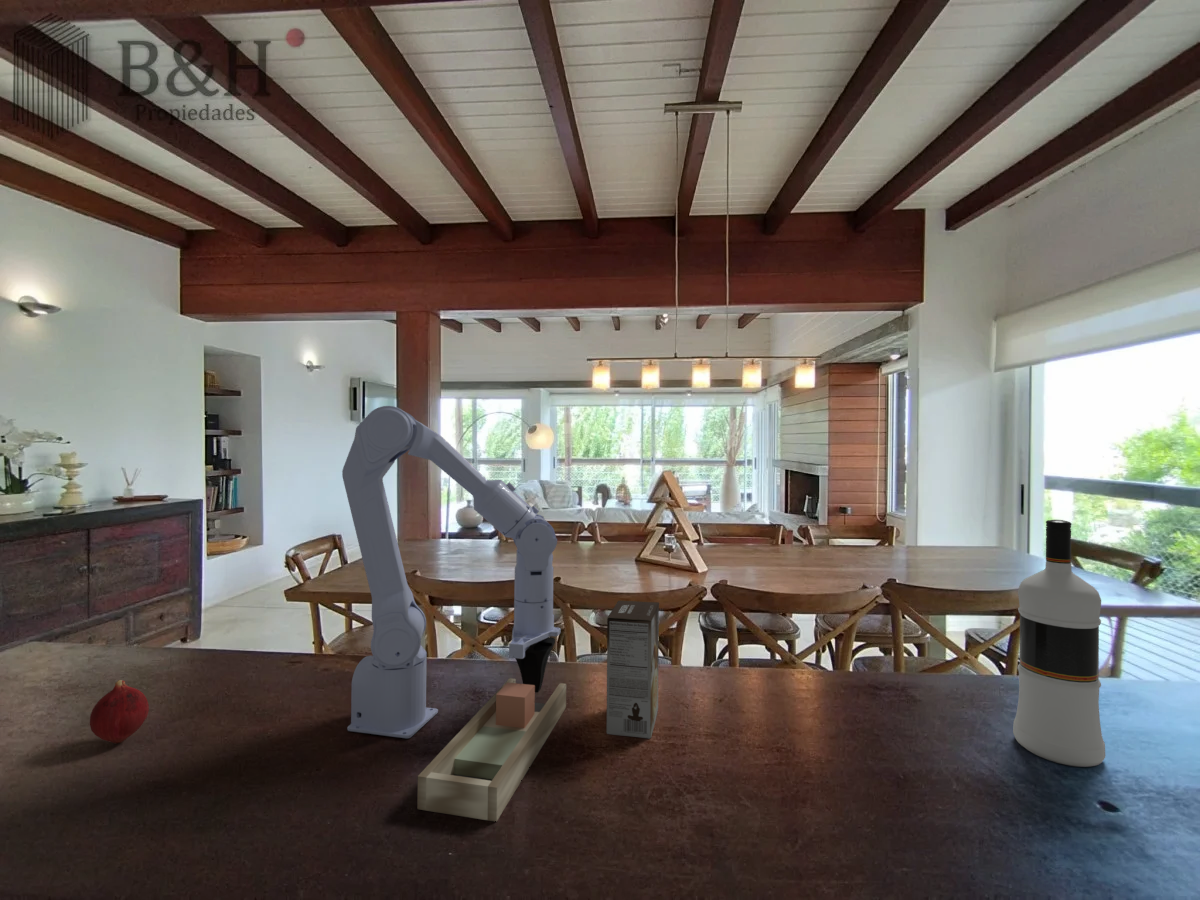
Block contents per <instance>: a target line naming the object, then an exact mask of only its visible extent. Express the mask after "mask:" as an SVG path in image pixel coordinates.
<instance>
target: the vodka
mask: <svg viewBox="0 0 1200 900" xmlns="http://www.w3.org/2000/svg"><path fill="white" fill-rule="evenodd" d="M1017 596H1018V605H1019V607H1018V608H1017V610H1018V613H1019V664H1018V665H1017V671H1018V680H1019V682H1018V685H1019V686H1018V702H1017V708H1016V714H1015V718H1014V719H1013V722H1012V723H1013V725H1012V726H1013V727H1012V733H1013V735H1014V738H1015V740H1016V742H1017V743H1018V744H1020V745H1021V747H1022V748H1024V749H1026V750H1027V751H1029V752H1030V753H1031V754H1033V755H1035V756H1037V757H1039V758H1042V759H1043V760H1044V759H1045V760H1047V761H1050V762H1053V763H1057V764H1059V765H1064V766H1068V767H1077V768H1090V767H1096V766H1099V765H1101V764H1102V763H1103V761H1104V760H1105V759H1106V743H1105V741H1104V738H1103V735H1102V734H1103V733H1102V727H1101V726H1102V725H1101V719H1100V718H1101V717H1100V706H1099V705H1100V702H1099V701H1100V688H1101V687H1102V682H1101V680H1100V679H1099V678H1100V677H1099V672H1100V671H1099V669H1100V668H1099V666H1100V665H1099V663H1100V661H1099V657H1100V656H1099V655H1100V654H1099V653H1100V651H1099V649H1100V647H1099V646H1100V644H1099V643H1100V642H1099V641H1100V640H1099V639H1100V627H1099V626H1100V625H1101V623H1102V619H1101V618H1100V617H1101V609H1102V598H1101V596H1100V593H1099V591H1098V590H1097V588H1095V587H1094V586H1093V585H1092V584H1090V583H1088V582H1087V581H1086V580H1084V579H1083V578H1081V577H1080V576H1078V575H1077V574H1075V573H1074V572H1073V569H1072V522H1070V521H1067V520H1064V519H1049V520H1046V521H1045V569H1043V570H1041V571H1038V572H1036V573H1034V574H1032V575H1030V576H1028V577H1026V578H1024V579H1023V580H1022V581H1021V582H1020V583H1019V587H1018V589H1017Z"/></svg>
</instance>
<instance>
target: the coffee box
mask: <svg viewBox="0 0 1200 900" xmlns="http://www.w3.org/2000/svg"><path fill="white" fill-rule="evenodd" d="M659 611H660V602H659V601H658V602H655V601H639V600H638V601H636V600H618V601H617V602H616V603H615V605H614V607H613V609H612V610H611V612H610V613H609V615H608V616H607V618H606V622H607V623H606V626H607V627H606V734H607V735H613V736H620V737H621V736H623V737H630V738H631V737H633V738H642V739H649V740H650V739H651V738H652V735H653V733H654V732H653V731H654V728H655V724H656V721H657V715H658V711H659V640H660V639H659V637H660V635H659V633H660V632H659V631H660V629H659V624H660V622H659V619H660V618H659V617H660V615H659V614H660V613H659Z"/></svg>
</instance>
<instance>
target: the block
mask: <svg viewBox="0 0 1200 900" xmlns="http://www.w3.org/2000/svg"><path fill="white" fill-rule="evenodd" d="M505 683H506V682H505ZM535 696H536V693H535V685H528V684H523V683H517V682H516V683H508V682H507V683H506V685H505V686H504V687H503V688H502V689H501V690H500V691H499V692H498V693H497V694H496V725H502V726H510V727H518V728H525V727H526V725H527V724H528V723H529V721H530V720H531V718H532V717H533V716H534V714H535V703H536V700H535V699H536V697H535Z"/></svg>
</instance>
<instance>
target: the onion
mask: <svg viewBox="0 0 1200 900" xmlns="http://www.w3.org/2000/svg"><path fill="white" fill-rule="evenodd" d="M149 711H150V705H149V702H148V699H147V697H146V695H145V694H144V693H143V692H142V691H141V690H139V689H138V688H135V687H131V686H128V684H126V681H125V680H123V679H118V680H117V681H116V682H115V683H114V687H113V689H111V690H110V691H109V692H107V693H106V694H104V695H103V696H102V697H101V698H100V699H99V700H98V701H97V702H96V704H95V705H94V706H93V708H92V711H91V713H90V716H89V726H90V731H91V732H92V733H93V734H94V735H95V736H96V737H98V738H99V739H100V740H103V741H104V742H105V741H106V742H109V743H113V744H116V745H117V744H121V743H123V742H124V741H126V740H127V739H128V738H130V737H131V736H132V735H133V734H135V733H136V732H137V731H138V730H139V729H140V728H141V727H142V726H143V724H144V723H145V721H146V719H147V718H148V715H149Z"/></svg>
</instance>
